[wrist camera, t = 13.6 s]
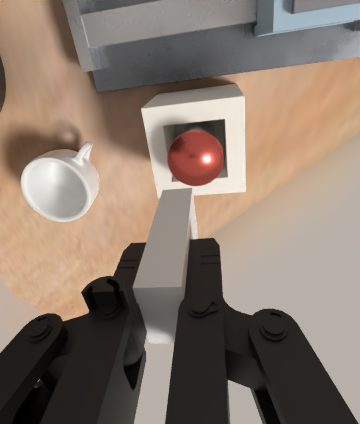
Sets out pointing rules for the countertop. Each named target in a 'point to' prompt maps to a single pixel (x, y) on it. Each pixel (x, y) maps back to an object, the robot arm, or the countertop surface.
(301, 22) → the carriage
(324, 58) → the rail
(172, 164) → the plunger
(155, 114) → the white push button housing
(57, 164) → the teacup
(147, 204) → the countertop surface
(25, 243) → the countertop surface
